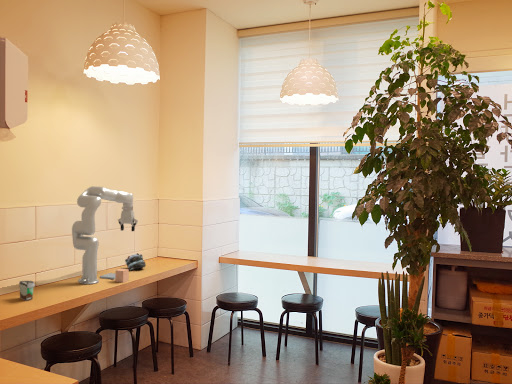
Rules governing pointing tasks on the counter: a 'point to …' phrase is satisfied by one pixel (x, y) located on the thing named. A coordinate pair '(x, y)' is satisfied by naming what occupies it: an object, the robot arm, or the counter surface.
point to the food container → (26, 290)
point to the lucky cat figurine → (135, 262)
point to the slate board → (108, 276)
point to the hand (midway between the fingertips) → (127, 230)
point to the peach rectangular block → (122, 275)
